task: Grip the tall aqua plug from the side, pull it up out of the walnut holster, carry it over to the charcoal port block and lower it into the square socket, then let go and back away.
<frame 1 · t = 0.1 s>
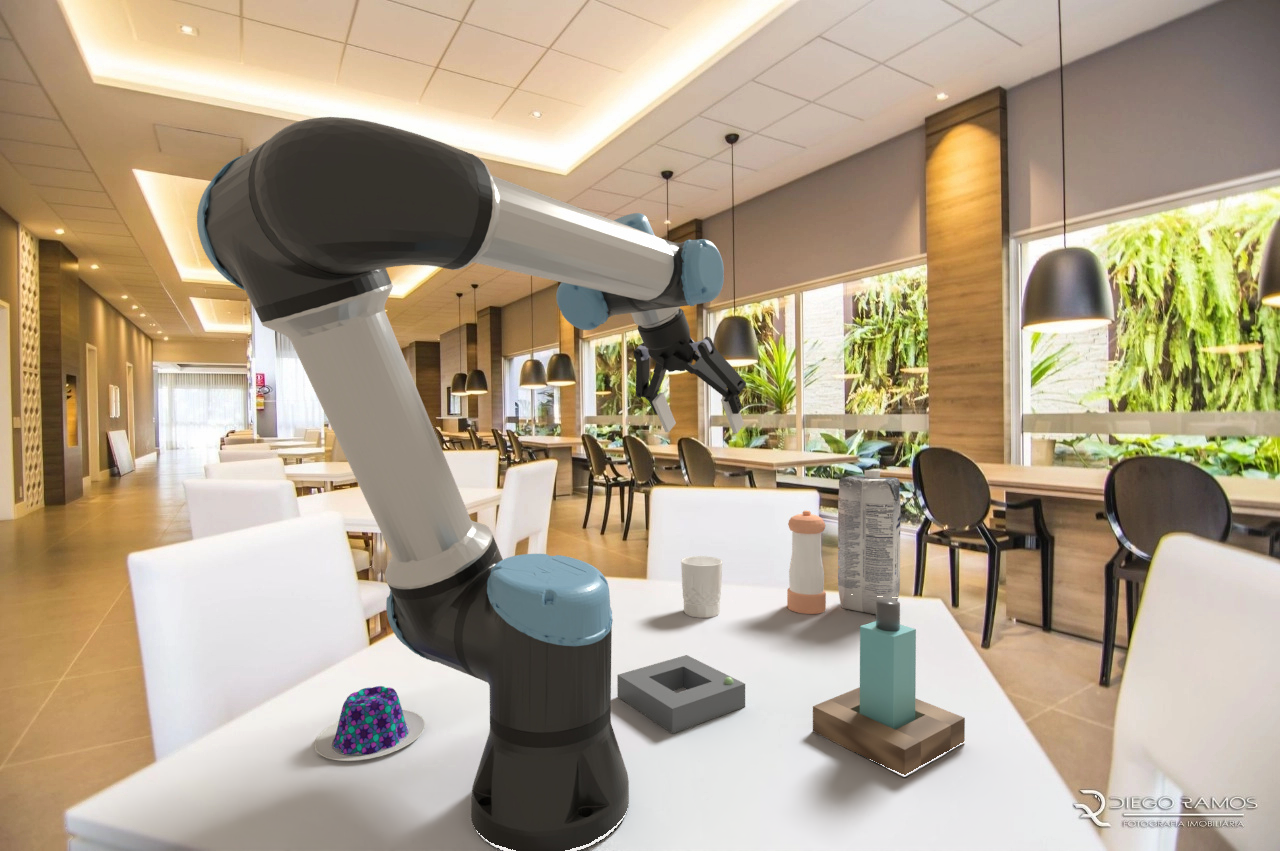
hand: (703, 428, 106), 36 cm above the table, tool tilted 35°, fingers open, 13 cm apart
holster: (887, 737, 74), on the table
pepper shaker: (806, 609, 123), on the table
white cup: (701, 613, 121), on the table
port: (680, 701, 83), on the table
juice carton: (868, 609, 123), on the table
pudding: (371, 740, 74), on the table
plug: (887, 669, 74), in the holster
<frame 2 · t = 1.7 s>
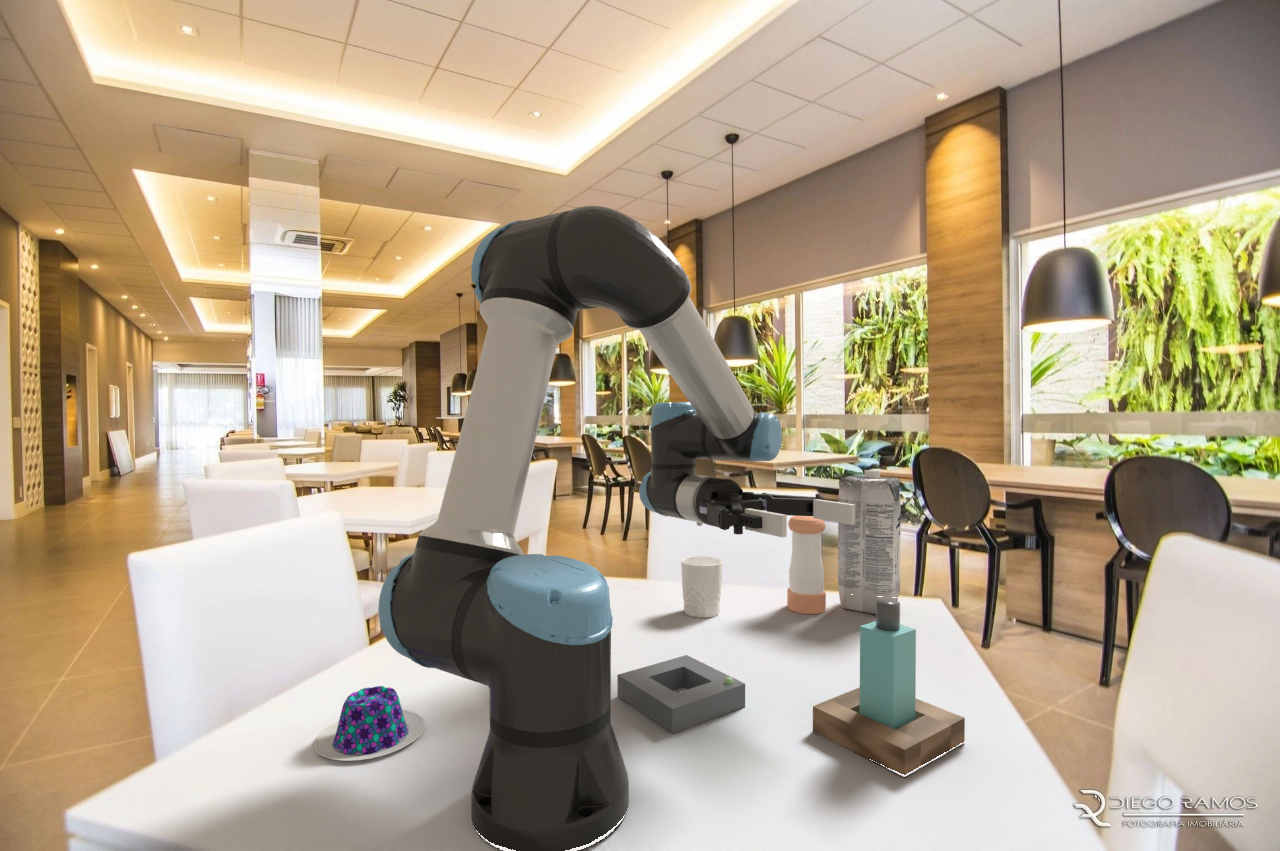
hand: (820, 520, 81), 24 cm above the table, tool horizontal, fingers open, 13 cm apart
nothing on the table moved.
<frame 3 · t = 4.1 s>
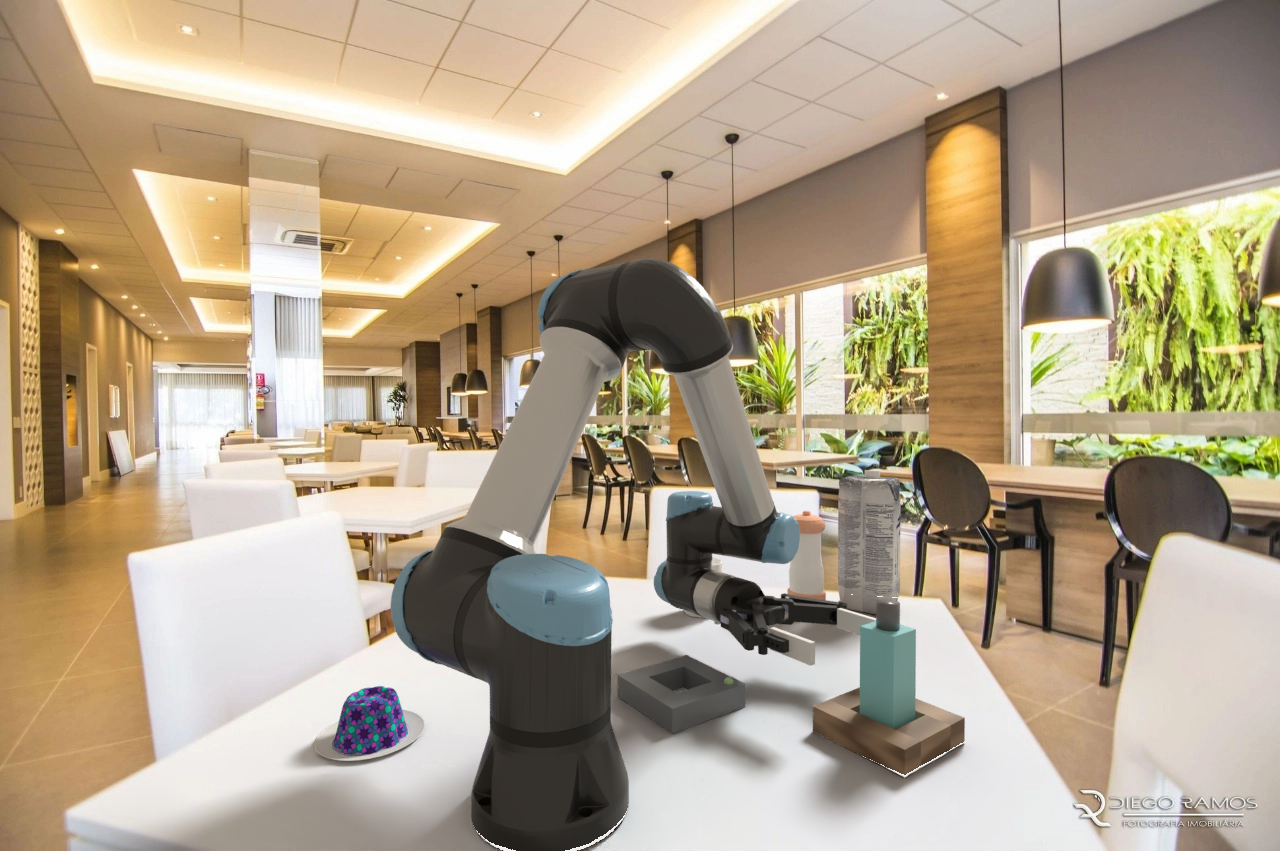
hand: (848, 641, 79), 9 cm above the table, tool horizontal, fingers open, 13 cm apart
nothing on the table moved.
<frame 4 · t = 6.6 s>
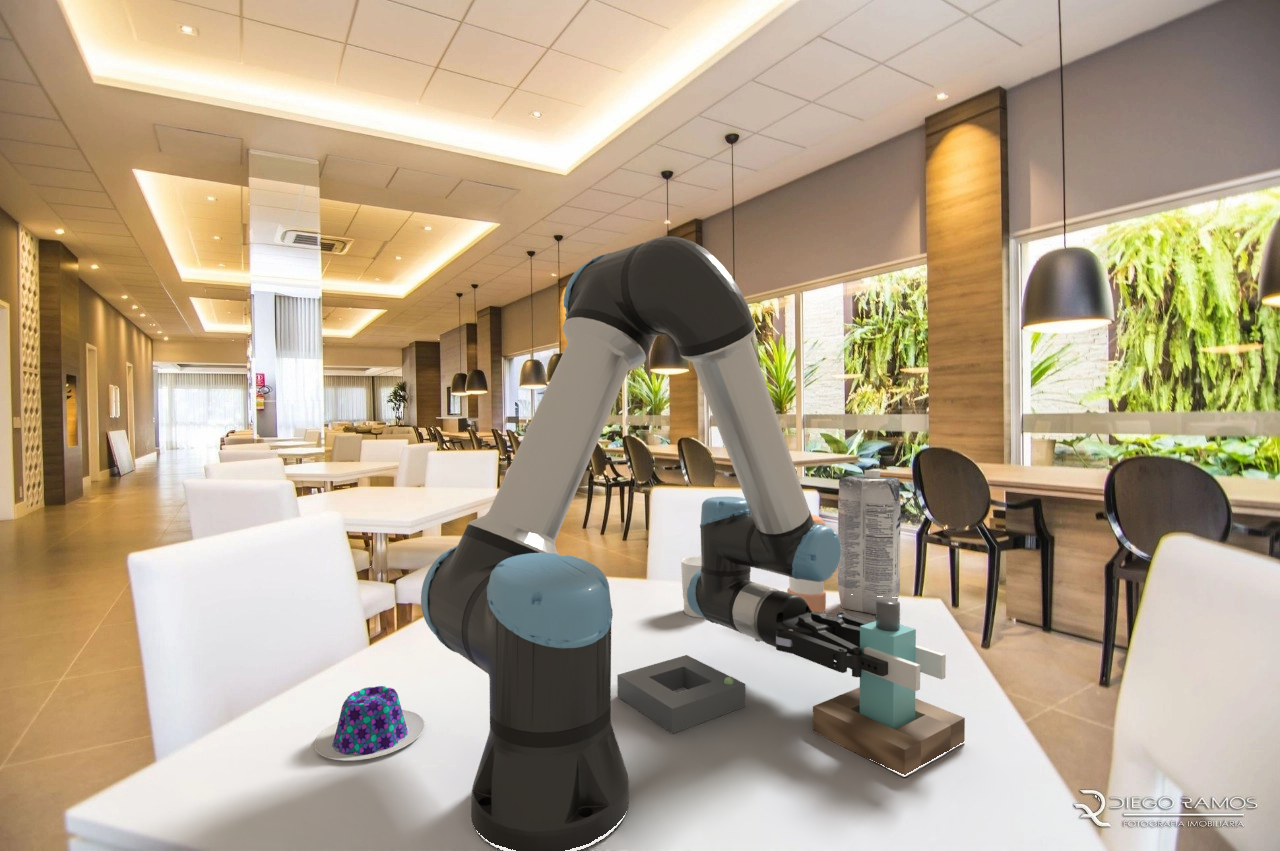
hand: (930, 672, 70), 10 cm above the table, tool horizontal, fingers closed on plug, 4 cm apart
plug: (887, 669, 74), in the holster, touching gripper
everything else where it was.
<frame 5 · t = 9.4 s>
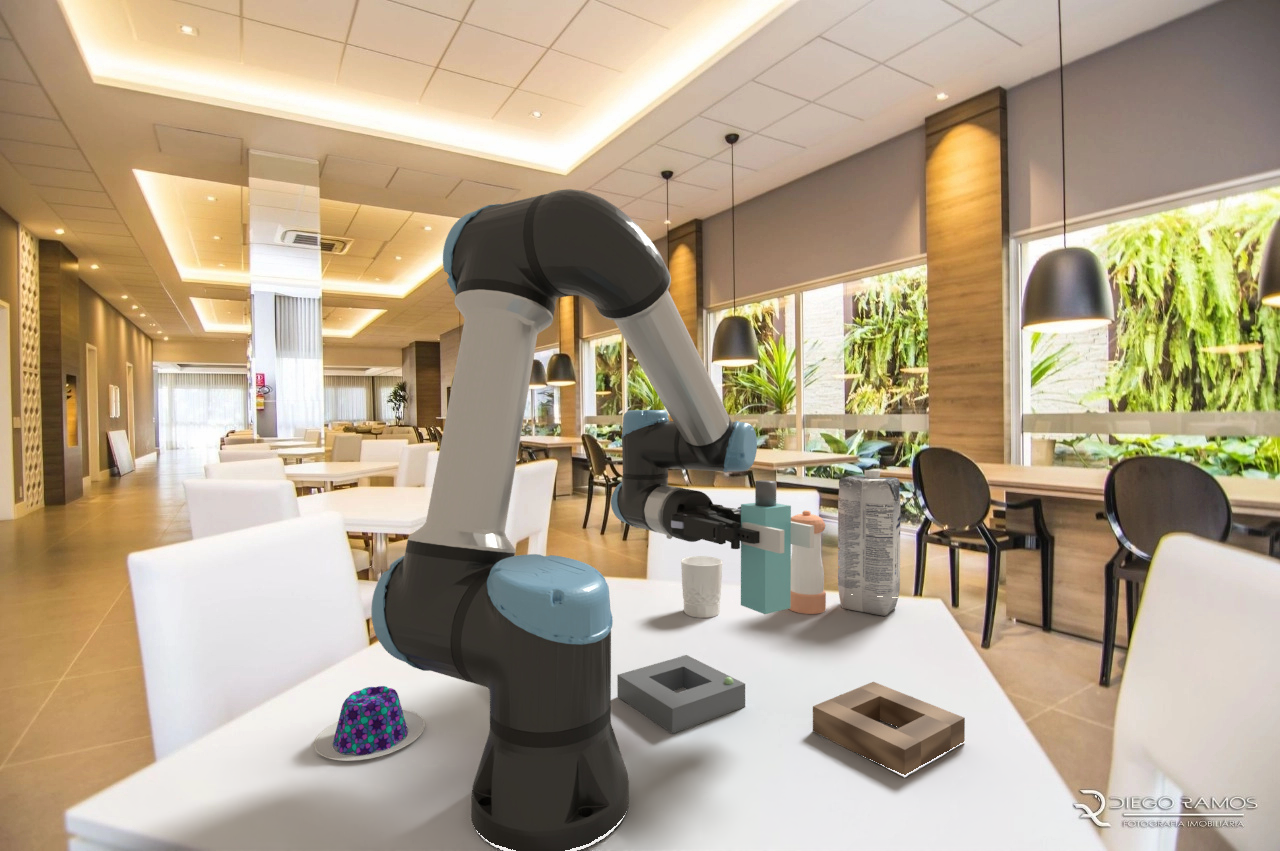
hand: (796, 539, 76), 23 cm above the table, tool horizontal, fingers closed on plug, 4 cm apart
plug: (765, 544, 80), point 22 cm above the table, touching gripper
everything else where it was.
when the fingers open (11 cm above the table, at t = 12.2 s): plug stays where it is, resting in port.
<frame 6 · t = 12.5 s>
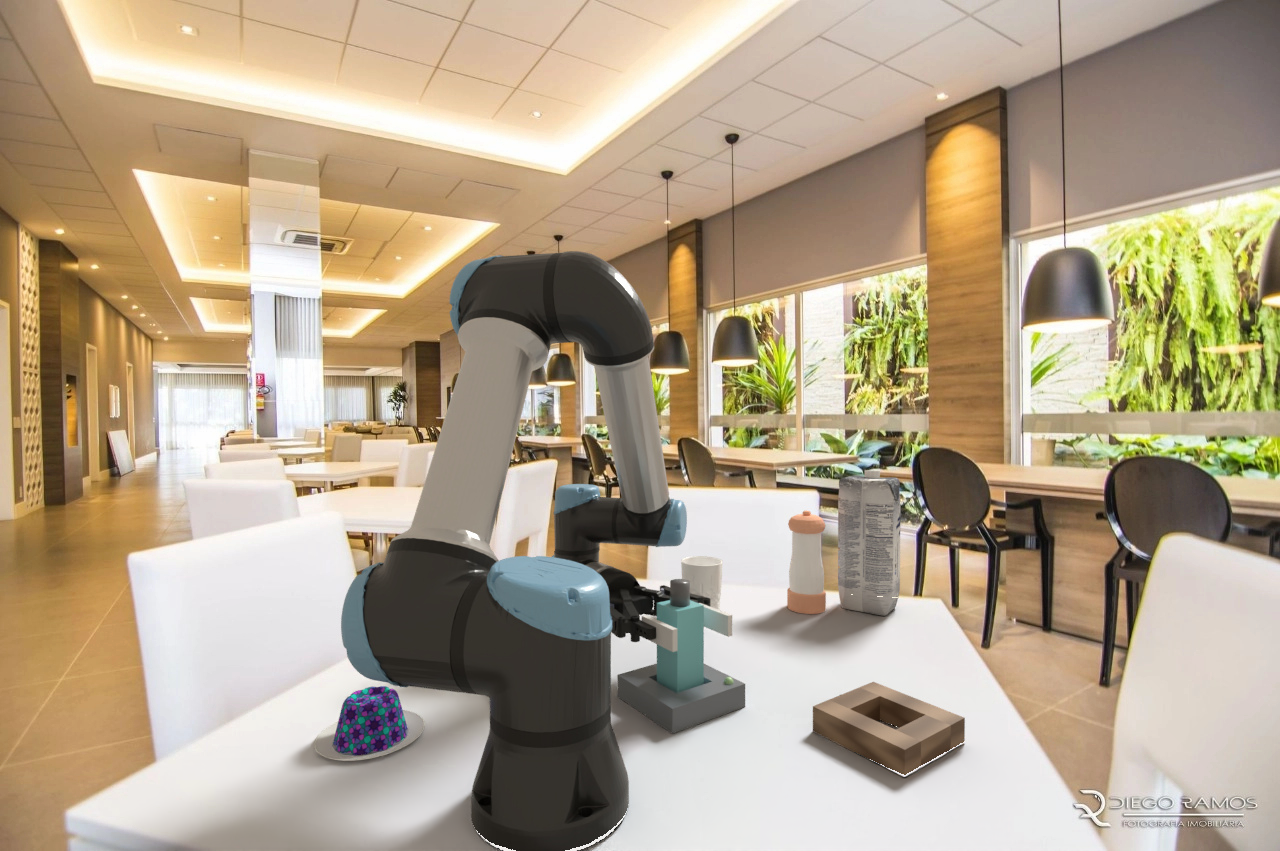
hand: (703, 632, 79), 10 cm above the table, tool horizontal, fingers open, 8 cm apart
plug: (680, 641, 83), resting in port
everything else where it was.
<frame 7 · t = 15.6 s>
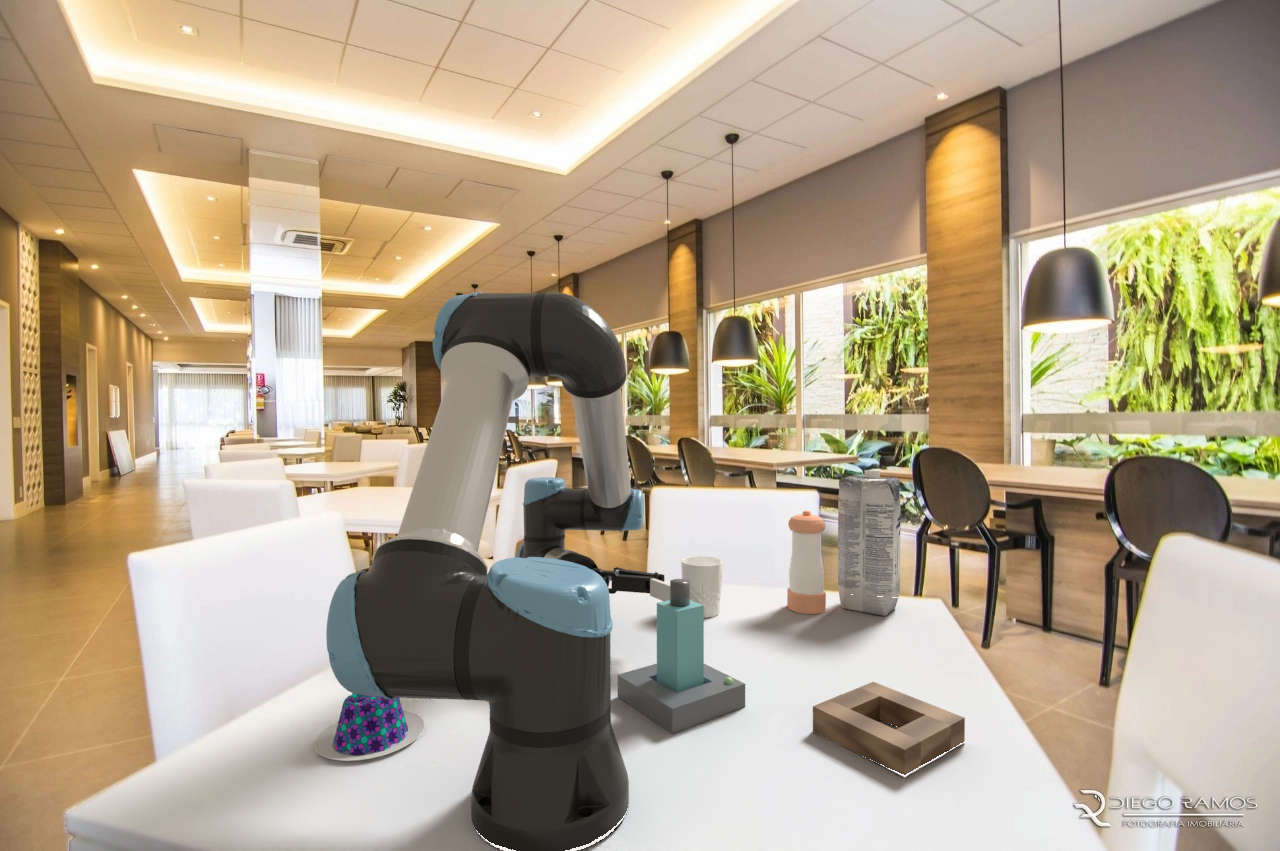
hand: (640, 604, 91), 11 cm above the table, tool horizontal, fingers open, 13 cm apart
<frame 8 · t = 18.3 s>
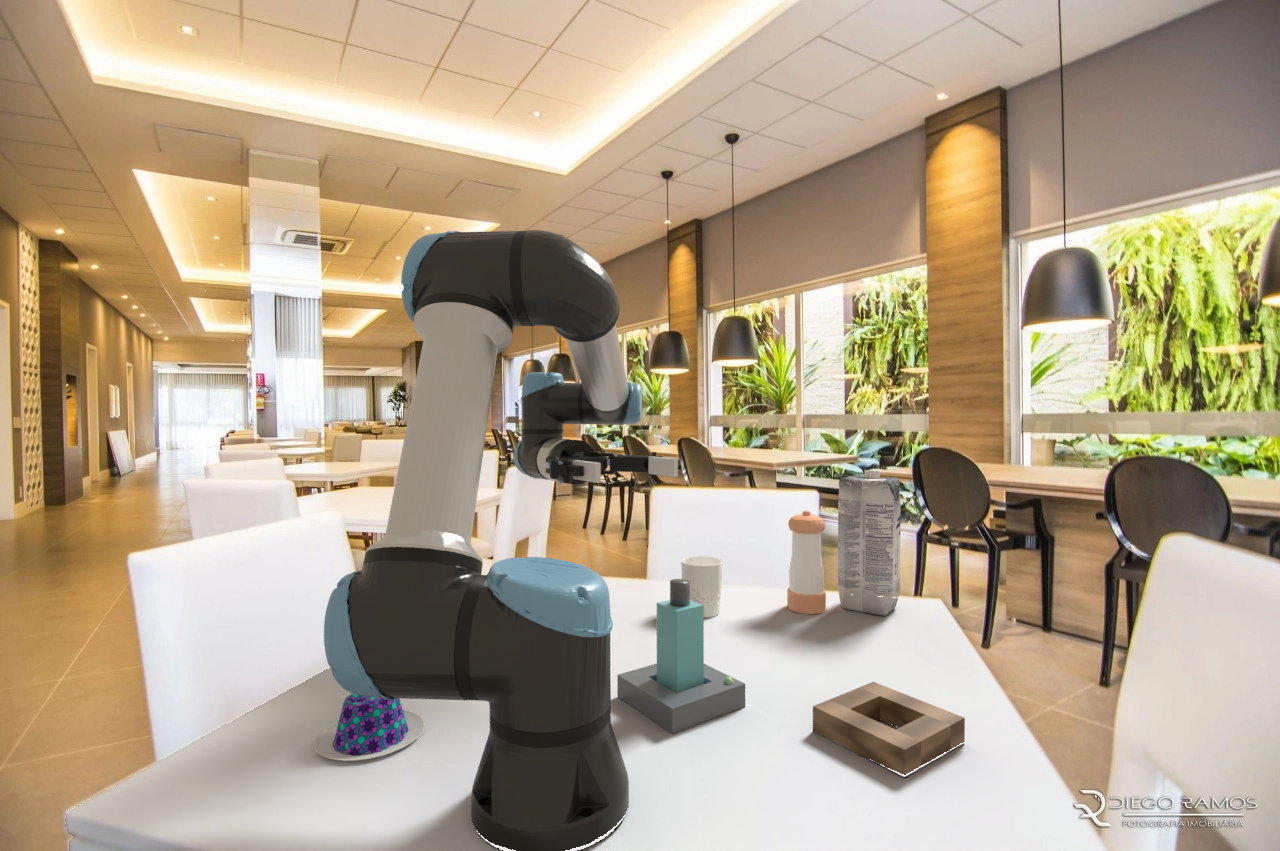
hand: (639, 470, 90), 30 cm above the table, tool horizontal, fingers open, 13 cm apart
at the end: plug 0.0 cm off-centre on the port, point 8.0 cm above the port's base; plug tilted 0°; the gripper is holding nothing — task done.
